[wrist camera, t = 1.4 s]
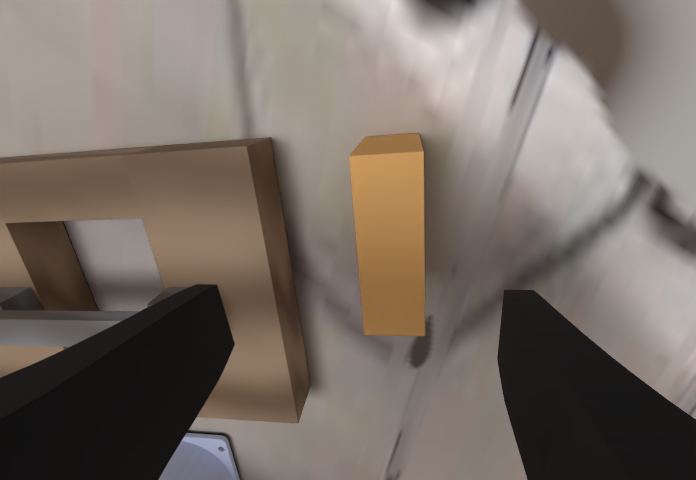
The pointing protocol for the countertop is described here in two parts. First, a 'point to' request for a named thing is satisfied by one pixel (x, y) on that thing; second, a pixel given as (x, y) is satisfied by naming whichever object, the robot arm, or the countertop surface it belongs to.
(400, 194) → the orange c-shaped bracket
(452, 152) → the countertop surface
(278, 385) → the hook board
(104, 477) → the robot arm
